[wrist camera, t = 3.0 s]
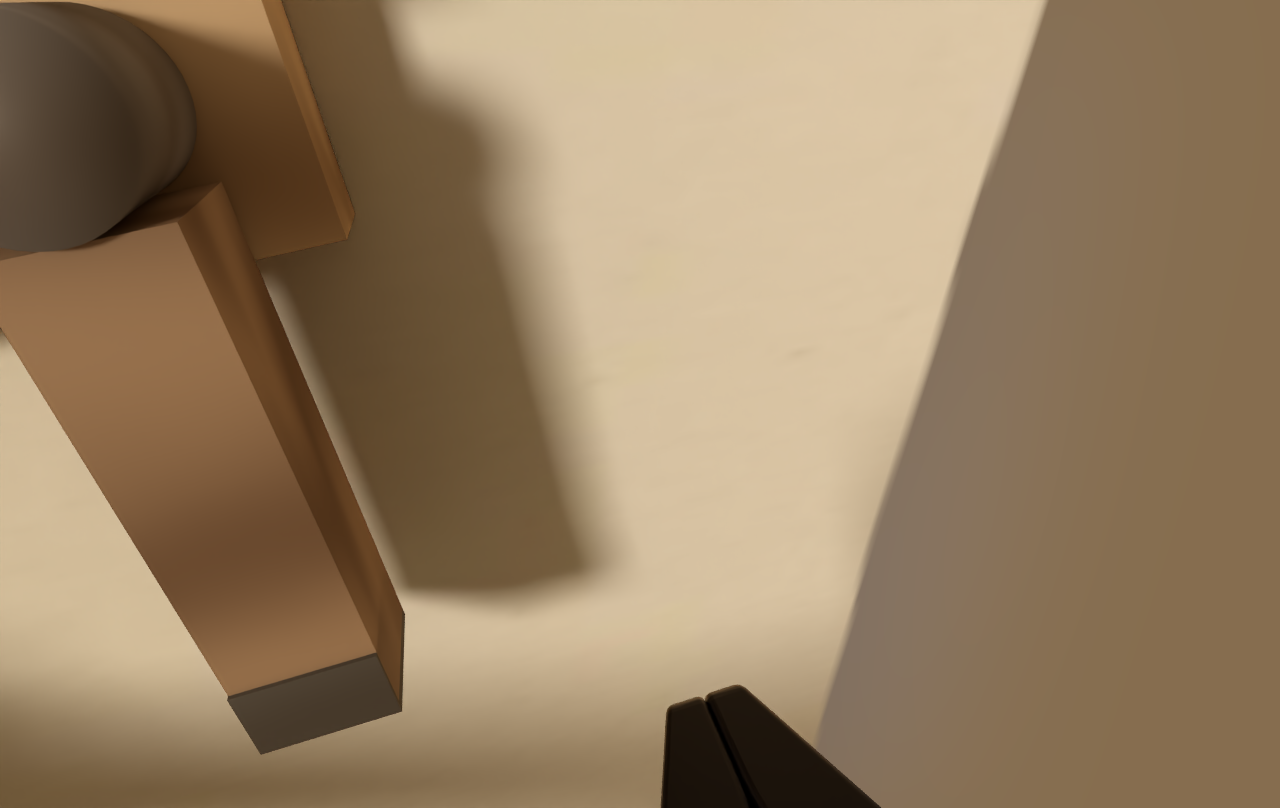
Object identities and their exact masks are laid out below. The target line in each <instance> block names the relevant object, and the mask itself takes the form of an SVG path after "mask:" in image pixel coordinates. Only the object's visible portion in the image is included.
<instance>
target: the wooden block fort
mask: <svg viewBox="0 0 1280 808" xmlns="http://www.w3.org/2000/svg"><path fill="white" fill-rule="evenodd" d="M11 2H73V3H80V4H86V5H89V6H93V7H97V8H100V9H103V10H105V11H108V12H111V13H113V14H115V15H117V16H119V17H121V18H123V19H125V20H127V21H129V22H130V23H132V24H133V25H135V26H136V27H138V28H139V29H141V30H142V31H144V32H145V33H146V34H147V35H148V36H150V37H151V38H152V39H153V40H154V41H155V42H156V43H157V44H158V45H159V46H160V47H161V48H162V49H163V50H164V51H165V52H166V53H167V54H168V55H169V57H170V58H171V59H172V60H173V62H174V63H175V64H176V66H177V68H178V69H179V71H180V72H181V74H182V75H183V77H184V80H185V82H186V84H187V86H188V88H189V90H190V93H191V96H192V99H193V102H194V107H195V112H196V121H197V132H196V141H195V146H194V150H193V152H192V155H191V158H190V160H189V162H188V163H187V165H186V167H185V169H184V170H183V171H182V172H181V174H180V175H179V176H178V177H177V178H176V179H175V180H174V181H173V182H172V183H171V184H170V185H168V186H167V187H166V188H164V189H163V190H162V191H160V192H159V193H158V194H156V195H160V194H165V193H170V192H175V191H179V190H184V189H189V188H193V187H198V186H203V185H207V184H212V183H217V182H222V184H223V186H224V189H225V191H226V194H227V196H228V198H229V201H230V203H231V205H232V208H233V210H234V212H235V215H236V217H237V220H238V222H239V224H240V227H241V229H242V231H243V234H244V236H245V238H246V241H247V243H248V245H249V248H250V250H251V253H252V255H253V257H254V260H259V259H263V258H268V257H272V256H277V255H281V254H286V253H290V252H294V251H299V250H303V249H308V248H312V247H316V246H321V245H325V244H330V243H334V242H338V241H343V240H347V238H348V235H349V232H350V229H351V225H352V222H353V219H354V216H355V212H354V209H353V206H352V203H351V200H350V198H349V195H348V192H347V189H346V186H345V183H344V180H343V177H342V175H341V172H340V169H339V166H338V163H337V160H336V157H335V154H334V152H333V149H332V146H331V143H330V140H329V137H328V134H327V131H326V128H325V126H324V123H323V120H322V117H321V114H320V111H319V108H318V105H317V103H316V100H315V97H314V94H313V91H312V88H311V85H310V82H309V80H308V77H307V74H306V71H305V68H304V65H303V62H302V59H301V57H300V54H299V51H298V48H297V45H296V42H295V39H294V36H293V34H292V31H291V28H290V25H289V22H288V19H287V16H286V13H285V11H284V8H283V5H282V2H281V0H0V3H11ZM156 195H155V196H156Z"/></svg>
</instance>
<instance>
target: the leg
mask: <svg viewBox="0 0 1280 808" xmlns="http://www.w3.org/2000/svg"><path fill="white" fill-rule="evenodd" d="M196 132H197V121H196V112H195V107H194V102H193V99H192V96H191V93H190V90H189V88H188V86H187V84H186V82H185V80H184V77H183V75H182V74H181V72H180V71H179V69H178V68H177V66H176V64H175V63H174V62H173V60H172V59H171V58H170V57H169V55H168V54H167V53H166V52H165V51H164V50H163V49H162V48H161V47H160V46H159V45H158V44H157V43H156V42H155V41H154V40H153V39H152V38H151V37H150V36H148V35H147V34H146V33H145V32H144V31H142V30H141V29H139V28H138V27H136V26H135V25H133V24H132V23H130V22H129V21H127V20H125V19H123V18H121V17H119V16H117V15H115V14H113V13H111V12H108V11H105V10H103V9H100V8H97V7H93V6H89V5H86V4H80V3H73V2H11V3H0V327H1V329H2V331H3V332H4V334H5V336H6V337H7V339H8V340H9V342H10V344H11V345H12V347H13V349H14V350H15V352H16V353H17V355H18V357H19V358H20V360H21V361H22V363H23V365H24V366H25V368H26V370H27V371H28V373H29V374H30V376H31V378H32V379H33V381H34V383H35V384H36V386H37V387H38V389H39V391H40V392H41V394H42V395H43V397H44V399H45V400H46V402H47V404H48V405H49V407H50V408H51V410H52V412H53V413H54V415H55V417H56V418H57V420H58V421H59V423H60V425H61V426H62V428H63V429H64V431H65V433H66V434H67V436H68V438H69V439H70V441H71V442H72V444H73V446H74V447H75V449H76V450H77V452H78V454H79V455H80V457H81V459H82V460H83V462H84V463H85V465H86V467H87V468H88V470H89V472H90V473H91V475H92V476H93V478H94V480H95V481H96V483H97V484H98V486H99V488H100V489H101V491H102V493H103V494H104V496H105V497H106V499H107V501H108V502H109V504H110V506H111V507H112V509H113V510H114V512H115V514H116V515H117V517H118V518H119V520H120V522H121V523H122V525H123V527H124V528H125V530H126V531H127V533H128V535H129V536H130V538H131V540H132V541H133V543H134V544H135V546H136V548H137V549H138V551H139V552H140V554H141V556H142V557H143V559H144V561H145V562H146V564H147V565H148V567H149V569H150V570H151V572H152V574H153V575H154V577H155V578H156V580H157V582H158V583H159V585H160V586H161V588H162V590H163V591H164V593H165V595H166V596H167V598H168V599H169V601H170V603H171V604H172V606H173V608H174V609H175V611H176V612H177V614H178V616H179V617H180V619H181V620H182V622H183V624H184V625H185V627H186V629H187V630H188V632H189V633H190V635H191V637H192V638H193V640H194V642H195V643H196V645H197V646H198V648H199V650H200V651H201V653H202V654H203V656H204V658H205V659H206V661H207V663H208V664H209V666H210V667H211V669H212V671H213V672H214V674H215V676H216V677H217V679H218V680H219V682H220V684H221V685H222V687H223V688H224V690H225V692H226V693H227V695H228V699H227V701H228V702H229V704H230V706H231V707H232V709H233V711H234V712H235V714H236V715H237V717H238V719H239V720H240V722H241V723H242V725H243V727H244V728H245V730H246V731H247V733H248V735H249V736H250V738H251V739H252V741H253V743H254V744H255V746H256V748H257V749H258V751H259V752H260V754H261V755H262V754H265V753H268V752H271V751H275V750H278V749H281V748H284V747H288V746H291V745H294V744H297V743H301V742H304V741H307V740H310V739H314V738H317V737H320V736H323V735H327V734H330V733H333V732H337V731H340V730H343V729H346V728H350V727H353V726H356V725H359V724H363V723H366V722H369V721H372V720H376V719H379V718H382V717H385V716H389V715H392V714H395V713H398V712H402V692H403V660H404V628H405V613H404V611H403V609H402V606H401V604H400V602H399V599H398V597H397V595H396V592H395V590H394V588H393V585H392V583H391V580H390V578H389V576H388V573H387V571H386V569H385V566H384V564H383V562H382V559H381V557H380V555H379V552H378V550H377V547H376V545H375V543H374V540H373V538H372V536H371V533H370V531H369V529H368V526H367V524H366V521H365V519H364V517H363V514H362V512H361V510H360V507H359V505H358V503H357V500H356V498H355V496H354V493H353V491H352V488H351V486H350V484H349V481H348V479H347V477H346V474H345V472H344V470H343V467H342V465H341V463H340V460H339V458H338V455H337V453H336V451H335V448H334V446H333V444H332V441H331V439H330V437H329V434H328V432H327V429H326V427H325V425H324V422H323V420H322V418H321V415H320V413H319V411H318V408H317V406H316V404H315V401H314V399H313V396H312V394H311V392H310V389H309V387H308V385H307V382H306V380H305V378H304V375H303V373H302V370H301V368H300V366H299V363H298V361H297V359H296V356H295V354H294V352H293V349H292V347H291V345H290V342H289V340H288V337H287V335H286V333H285V330H284V328H283V326H282V323H281V321H280V319H279V316H278V314H277V312H276V309H275V307H274V304H273V302H272V300H271V297H270V295H269V293H268V290H267V288H266V286H265V283H264V281H263V278H262V276H261V274H260V271H259V269H258V267H257V264H256V262H255V260H254V257H253V255H252V253H251V250H250V248H249V245H248V243H247V241H246V238H245V236H244V234H243V231H242V229H241V227H240V224H239V222H238V220H237V217H236V215H235V212H234V210H233V208H232V205H231V203H230V201H229V198H228V196H227V194H226V191H225V189H224V186H223V184H222V182H217V183H212V184H207V185H203V186H198V187H193V188H189V189H184V190H179V191H175V192H170V193H165V194H160V195H156V194H158V193H159V192H160V191H162V190H163V189H164V188H166V187H167V186H168V185H170V184H171V183H172V182H173V181H174V180H175V179H176V178H177V177H178V176H179V175H180V174H181V172H182V171H183V170H184V169H185V167H186V165H187V163H188V162H189V160H190V158H191V155H192V152H193V150H194V146H195V141H196ZM155 195H156V196H155Z"/></svg>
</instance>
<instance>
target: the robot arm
mask: <svg viewBox="0 0 1280 808" xmlns="http://www.w3.org/2000/svg"><path fill="white" fill-rule="evenodd" d="M661 808H881V807H880V806H879V805H877V804H876V803H875V802H874V801H873V800H872V799H871V798H869V796H867V795H866V794H865V793H864V792H863V791H862V790H861V789H859V788H858V787H857V786H856V785H855V784H854V783H853V782H852V781H850V780H849V779H848V778H847V777H846V776H845V775H843V774H842V773H841V772H840V771H839V770H838V769H837V768H836V767H835V766H833V765H832V764H831V763H830V762H829V761H828V760H827V759H825V758H824V757H823V756H822V755H820V753H819V752H817V751H816V750H815V749H814V748H813V747H812V746H811V745H810V744H809V743H807V742H806V741H805V740H804V739H803V738H802V737H801V736H799V735H798V734H797V733H796V732H795V731H794V730H793V729H792V728H790V727H789V726H788V725H787V724H786V723H785V722H784V721H782V720H781V719H780V718H779V717H778V716H777V715H776V714H775V713H773V712H772V711H771V710H770V709H769V708H768V707H767V706H765V705H764V704H763V703H762V702H761V701H760V700H759V699H758V698H756V697H755V696H754V695H753V694H752V693H751V692H750V691H748V690H747V689H746V688H745V687H743V686H741V685H732V686H729V687H726V688H723V689H720V690H717V691H714V692H711V693H709V694H708V695H707V696H706V698H705V700H704V699H703V698H701V697H695V698H692V699H689V700H686V701H683V702H679V703H676V704H673V705H671V706H670V707H669V708H668V709H667V712H666V726H665V743H664V761H663V778H662V796H661Z"/></svg>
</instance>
